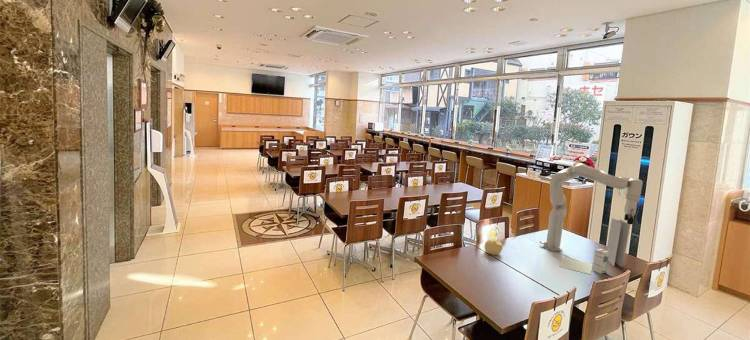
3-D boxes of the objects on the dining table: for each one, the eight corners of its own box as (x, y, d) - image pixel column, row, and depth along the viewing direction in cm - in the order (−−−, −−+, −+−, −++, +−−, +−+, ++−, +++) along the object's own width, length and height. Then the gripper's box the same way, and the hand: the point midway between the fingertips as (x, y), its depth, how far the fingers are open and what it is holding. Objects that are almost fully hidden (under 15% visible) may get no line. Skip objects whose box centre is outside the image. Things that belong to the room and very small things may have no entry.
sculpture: (503, 257, 249) (504, 242, 247) (485, 255, 250) (486, 240, 249) (500, 251, 260) (501, 237, 258) (483, 249, 262) (484, 235, 260)
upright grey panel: (622, 267, 243) (630, 224, 238) (613, 266, 244) (621, 223, 239) (613, 259, 257) (620, 218, 252) (605, 258, 258) (611, 218, 253)
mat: (559, 266, 238) (559, 266, 238) (563, 257, 254) (563, 257, 254) (590, 274, 228) (590, 274, 228) (592, 264, 245) (592, 264, 245)
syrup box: (600, 273, 230) (604, 252, 228) (591, 270, 236) (595, 249, 233) (606, 272, 233) (609, 251, 231) (596, 268, 238) (600, 248, 236)
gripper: (623, 194, 248) (619, 218, 251) (628, 199, 232) (624, 224, 235) (636, 195, 245) (632, 220, 247) (642, 201, 229) (637, 226, 232)
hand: (628, 222), depth 241 cm, fingers open, 9 cm apart
